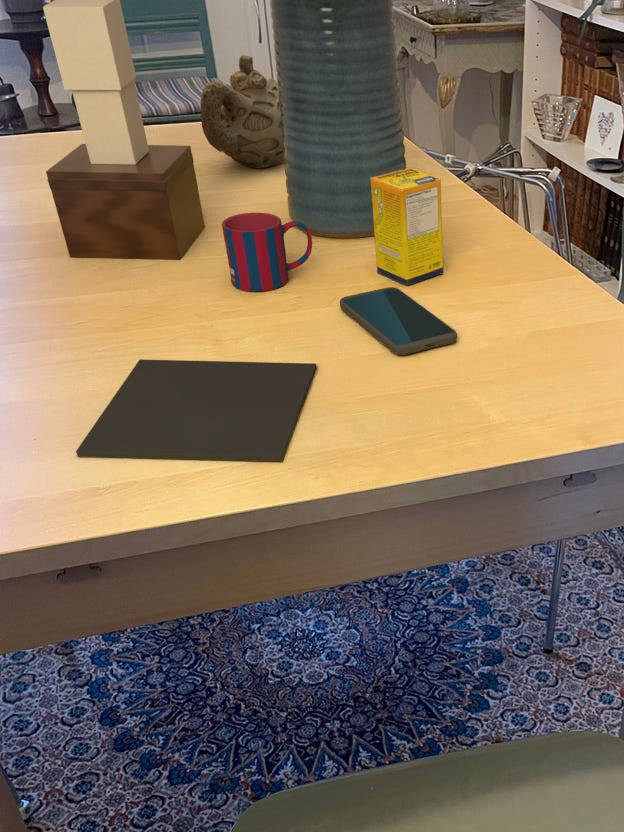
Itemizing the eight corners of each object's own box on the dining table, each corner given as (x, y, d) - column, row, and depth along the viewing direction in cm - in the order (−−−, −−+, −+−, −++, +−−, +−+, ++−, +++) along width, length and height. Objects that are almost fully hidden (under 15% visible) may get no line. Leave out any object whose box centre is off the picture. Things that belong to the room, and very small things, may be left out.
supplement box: (412, 260, 117) (408, 166, 110) (444, 274, 114) (442, 177, 106) (375, 273, 114) (368, 176, 107) (406, 287, 111) (402, 188, 103)
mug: (230, 273, 114) (220, 214, 109) (313, 266, 115) (307, 208, 111) (232, 294, 109) (222, 233, 104) (319, 287, 110) (312, 227, 106)
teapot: (261, 145, 155) (246, 39, 145) (322, 152, 152) (312, 44, 142) (186, 181, 141) (164, 66, 131) (253, 190, 138) (235, 73, 127)
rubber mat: (77, 457, 82) (75, 451, 81) (140, 364, 95) (139, 359, 95) (282, 462, 81) (281, 456, 81) (316, 368, 95) (316, 363, 94)
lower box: (90, 164, 113) (71, 88, 107) (105, 150, 117) (87, 77, 111) (135, 164, 113) (118, 89, 107) (149, 151, 117) (133, 78, 111)
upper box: (64, 90, 107) (42, 6, 101) (81, 76, 112) (61, -4, 106) (121, 90, 107) (102, 7, 101) (136, 76, 112) (119, -4, 106)
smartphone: (396, 293, 109) (396, 285, 108) (461, 341, 99) (461, 333, 99) (336, 306, 106) (336, 298, 105) (397, 357, 96) (397, 349, 96)
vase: (284, 205, 133) (248, -74, 111) (397, 197, 136) (384, -77, 115) (296, 245, 121) (259, -59, 100) (420, 235, 124) (410, -62, 103)
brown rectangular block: (69, 257, 117) (44, 171, 110) (102, 224, 126) (81, 143, 119) (180, 259, 117) (163, 173, 110) (205, 227, 126) (190, 145, 119)
